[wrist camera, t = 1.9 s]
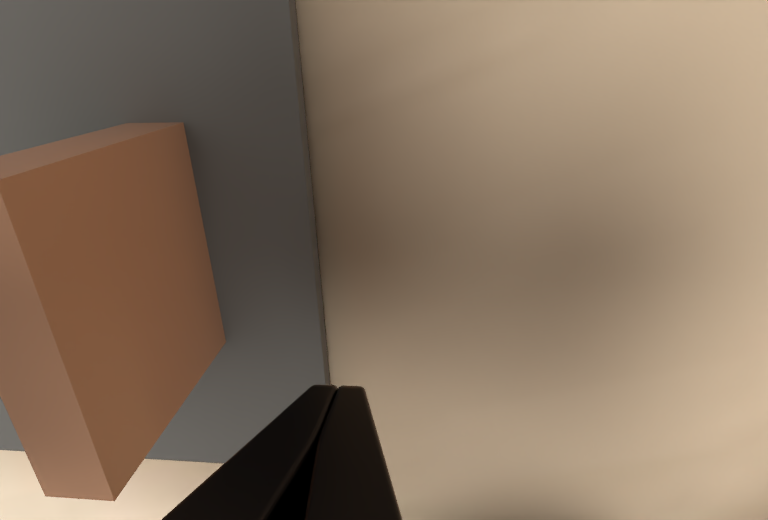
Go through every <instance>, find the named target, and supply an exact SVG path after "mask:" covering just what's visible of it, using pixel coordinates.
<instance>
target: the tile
mask: <svg viewBox="0 0 768 520" xmlns="http://www.w3.org/2000/svg"><path fill="white" fill-rule="evenodd" d="M225 343H226V339H225V334H224V329H223V324H222V319H221V313H220V308H219V303H218V298H217V293H216V288H215V283H214V277H213V272H212V267H211V262H210V257H209V252H208V247H207V241H206V236H205V231H204V226H203V221H202V216H201V211H200V205H199V200H198V195H197V190H196V185H195V180H194V175H193V169H192V164H191V159H190V154H189V149H188V144H187V138H186V133H185V128H184V123H183V122H167V123H125V124H121V125H118V126H114V127H110V128H106V129H102V130H98V131H94V132H90V133H87V134H83V135H79V136H75V137H71V138H67V139H63V140H59V141H56V142H52V143H48V144H44V145H40V146H36V147H32V148H28V149H25V150H21V151H17V152H13V153H9V154H5V155H1V156H0V397H1V399H2V401H3V403H4V406H5V408H6V410H7V412H8V414H9V417H10V419H11V421H12V423H13V426H14V428H15V430H16V432H17V434H18V437H19V439H20V441H21V443H22V445H23V448H24V450H25V452H26V454H27V457H28V459H29V461H30V463H31V465H32V468H33V470H34V472H35V474H36V476H37V479H38V481H39V483H40V485H41V488H42V490H43V492H44V494H45V496H50V497H64V498H78V499H92V500H107V501H115V500H116V498H117V497H118V495H119V494H120V492H121V491H122V490H123V488H124V487H125V485H126V484H127V482H128V481H129V480H130V478H131V477H132V475H133V474H134V472H135V471H136V470H137V468H138V467H139V465H140V464H141V462H142V461H143V460H144V458H145V457H146V455H147V454H148V453H149V451H150V450H151V448H152V447H153V445H154V444H155V443H156V441H157V440H158V438H159V437H160V435H161V434H162V433H163V431H164V430H165V428H166V427H167V425H168V424H169V423H170V421H171V420H172V418H173V417H174V415H175V414H176V413H177V411H178V410H179V408H180V407H181V405H182V404H183V403H184V401H185V400H186V398H187V397H188V395H189V394H190V393H191V391H192V390H193V388H194V387H195V385H196V384H197V383H198V381H199V380H200V378H201V377H202V375H203V374H204V373H205V371H206V370H207V368H208V367H209V366H210V364H211V363H212V361H213V360H214V358H215V357H216V356H217V354H218V353H219V351H220V350H221V348H222V347H223V346H224V344H225Z"/></svg>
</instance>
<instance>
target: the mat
mask: <svg viewBox="0 0 768 520" xmlns="http://www.w3.org/2000/svg"><path fill="white" fill-rule="evenodd" d="M167 122H183V123H184V128H185V133H186V138H187V144H188V149H189V154H190V159H191V164H192V169H193V175H194V180H195V185H196V190H197V195H198V200H199V205H200V211H201V216H202V221H203V226H204V231H205V236H206V241H207V247H208V252H209V257H210V262H211V267H212V272H213V277H214V283H215V288H216V293H217V298H218V303H219V308H220V313H221V319H222V324H223V329H224V334H225V339H226V343H225V344H224V346H223V347H222V348H221V350H220V351H219V353H218V354H217V356H216V357H215V358H214V360H213V361H212V363H211V364H210V366H209V367H208V368H207V370H206V371H205V373H204V374H203V375H202V377H201V378H200V380H199V381H198V383H197V384H196V385H195V387H194V388H193V390H192V391H191V393H190V394H189V395H188V397H187V398H186V400H185V401H184V403H183V404H182V405H181V407H180V408H179V410H178V411H177V413H176V414H175V415H174V417H173V418H172V420H171V421H170V423H169V424H168V425H167V427H166V428H165V430H164V431H163V433H162V434H161V435H160V437H159V438H158V440H157V441H156V443H155V444H154V445H153V447H152V448H151V450H150V451H149V453H148V454H147V455H146V457H145V458H144V459H161V460H177V461H193V462H210V463H226V462H227V461H228V460H229V459H230V458H231V457H232V456H233V455H234V454H236V453H237V452H238V451H239V450H240V449H241V448H242V447H243V446H245V445H246V444H247V443H248V442H249V441H250V440H251V439H252V438H254V437H255V436H256V435H257V434H258V433H259V432H260V431H261V430H263V429H264V428H265V427H266V426H267V425H268V424H269V423H270V422H271V421H273V420H274V419H275V418H276V417H277V416H278V415H279V414H280V413H282V412H283V411H284V410H285V409H286V408H287V407H288V406H289V405H291V404H292V403H293V402H294V401H295V400H296V399H297V398H298V397H299V396H301V395H302V394H303V393H304V392H305V391H306V390H307V389H308V388H310V387H311V386H313V385H330V377H329V366H328V355H327V344H326V333H325V323H324V312H323V301H322V290H321V279H320V268H319V257H318V246H317V235H316V224H315V213H314V202H313V191H312V180H311V169H310V158H309V147H308V136H307V125H306V114H305V103H304V92H303V81H302V70H301V59H300V48H299V38H298V27H297V16H296V5H295V0H0V156H1V155H5V154H9V153H13V152H17V151H21V150H25V149H28V148H32V147H36V146H40V145H44V144H48V143H52V142H56V141H59V140H63V139H67V138H71V137H75V136H79V135H83V134H87V133H90V132H94V131H98V130H102V129H106V128H110V127H114V126H118V125H121V124H125V123H167ZM0 450H12V451H25V450H24V448H23V445H22V443H21V441H20V439H19V437H18V434H17V432H16V430H15V428H14V426H13V423H12V421H11V419H10V417H9V414H8V412H7V410H6V408H5V406H4V403H3V401H2V399H1V397H0Z"/></svg>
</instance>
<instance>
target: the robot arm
mask: <svg viewBox="0 0 768 520" xmlns="http://www.w3.org/2000/svg"><path fill="white" fill-rule="evenodd" d="M162 520H402V517H401V514H400V510H399V507H398V503H397V500H396V496H395V493H394V489H393V486H392V482H391V479H390V475H389V472H388V469H387V465H386V462H385V458H384V455H383V451H382V448H381V444H380V441H379V437H378V434H377V430H376V427H375V423H374V420H373V416H372V413H371V410H370V406H369V403H368V399H367V396H366V392H365V389H364V388H363V387H361V386H341V387H339V388H337V387H336V386H335V385H313V386H311V387H310V388H308V389H307V390H306V391H305V392H304V393H303V394H302V395H301V396H299V397H298V398H297V399H296V400H295V401H294V402H293V403H292V404H291V405H289V406H288V407H287V408H286V409H285V410H284V411H283V412H282V413H280V414H279V415H278V416H277V417H276V418H275V419H274V420H273V421H271V422H270V423H269V424H268V425H267V426H266V427H265V428H264V429H263V430H261V431H260V432H259V433H258V434H257V435H256V436H255V437H254V438H252V439H251V440H250V441H249V442H248V443H247V444H246V445H245V446H243V447H242V448H241V449H240V450H239V451H238V452H237V453H236V454H234V455H233V456H232V457H231V458H230V459H229V460H228V461H227V462H226V463H224V464H223V465H222V466H221V467H220V468H219V469H218V470H217V471H215V472H214V473H213V474H212V475H211V476H210V477H209V478H208V479H206V480H205V481H204V482H203V483H202V484H201V485H200V486H199V487H198V488H196V489H195V490H194V491H193V492H192V493H191V494H190V495H189V496H187V497H186V498H185V499H184V500H183V501H182V502H181V503H180V504H178V505H177V506H176V507H175V508H174V509H173V510H172V511H171V512H170V513H168V514H167V515H166V516H165V517H164V518H163V519H162Z"/></svg>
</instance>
